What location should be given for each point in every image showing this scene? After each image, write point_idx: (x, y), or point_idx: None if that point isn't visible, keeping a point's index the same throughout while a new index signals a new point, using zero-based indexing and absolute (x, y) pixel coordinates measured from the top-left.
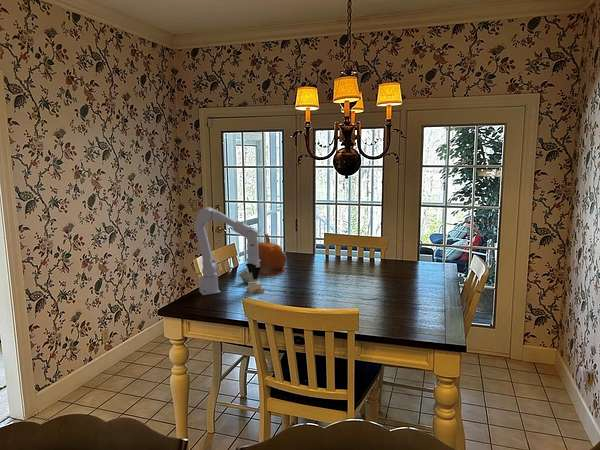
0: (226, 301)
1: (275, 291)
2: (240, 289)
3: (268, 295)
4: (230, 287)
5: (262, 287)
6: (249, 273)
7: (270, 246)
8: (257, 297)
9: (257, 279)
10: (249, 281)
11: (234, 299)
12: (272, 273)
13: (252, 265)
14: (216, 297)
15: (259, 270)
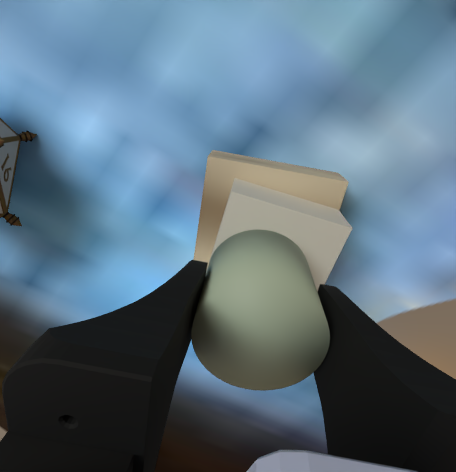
0: (315, 439)
1: (413, 67)
2: (140, 280)
3: (449, 196)
4: (51, 306)
5: (313, 179)
6: (227, 381)
7: None
8: (410, 288)
9: (308, 266)
10: (14, 154)
11: (318, 401)
12: None
13: (155, 422)
14: (209, 441)
15: (441, 375)
